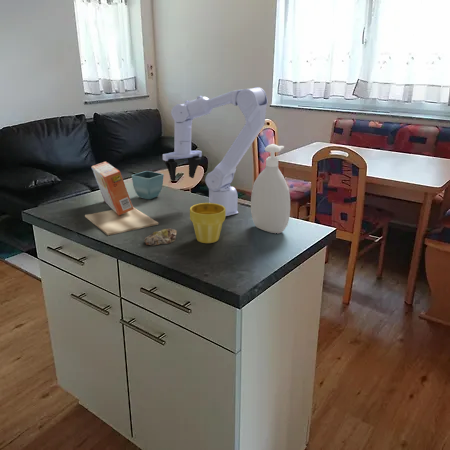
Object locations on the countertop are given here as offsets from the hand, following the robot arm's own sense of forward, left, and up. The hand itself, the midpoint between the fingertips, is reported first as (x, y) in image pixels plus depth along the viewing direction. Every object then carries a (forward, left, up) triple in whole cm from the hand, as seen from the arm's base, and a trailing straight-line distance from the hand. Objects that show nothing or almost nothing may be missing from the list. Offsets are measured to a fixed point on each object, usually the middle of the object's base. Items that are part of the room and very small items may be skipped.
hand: (182, 178), depth 160 cm
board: (+24, +1, -10) cm, 26 cm away
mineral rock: (+21, +23, -11) cm, 33 cm away
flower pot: (+5, -17, -11) cm, 21 cm away
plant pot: (+9, +30, -11) cm, 33 cm away
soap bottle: (-12, +34, -11) cm, 38 cm away
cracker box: (+23, -1, -2) cm, 23 cm away
